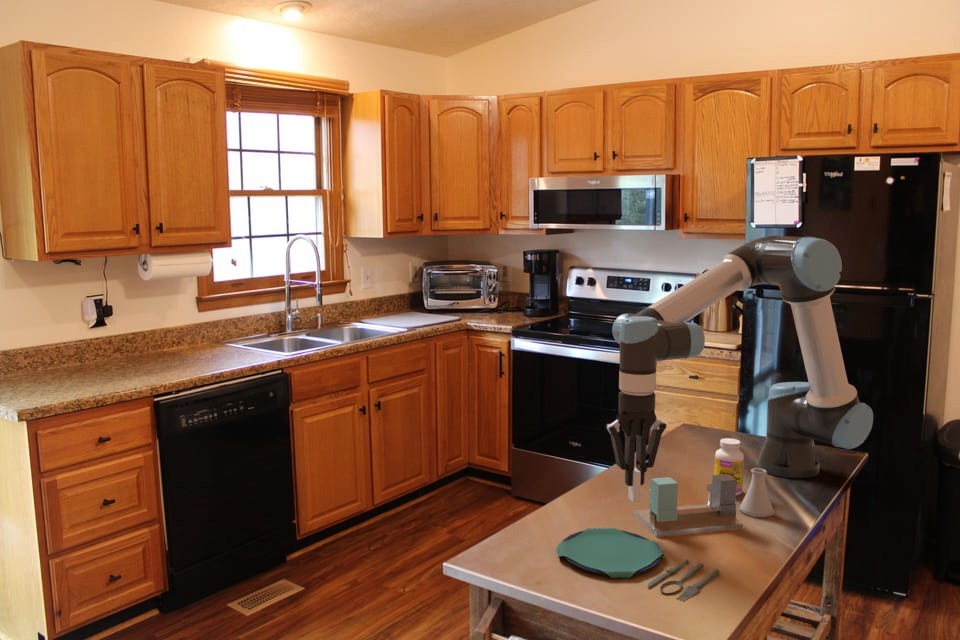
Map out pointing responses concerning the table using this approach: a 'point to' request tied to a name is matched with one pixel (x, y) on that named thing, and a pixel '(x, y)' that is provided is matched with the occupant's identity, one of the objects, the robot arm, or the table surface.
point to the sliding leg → (663, 499)
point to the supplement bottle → (730, 461)
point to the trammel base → (686, 528)
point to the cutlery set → (622, 556)
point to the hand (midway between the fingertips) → (634, 499)
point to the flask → (757, 496)
